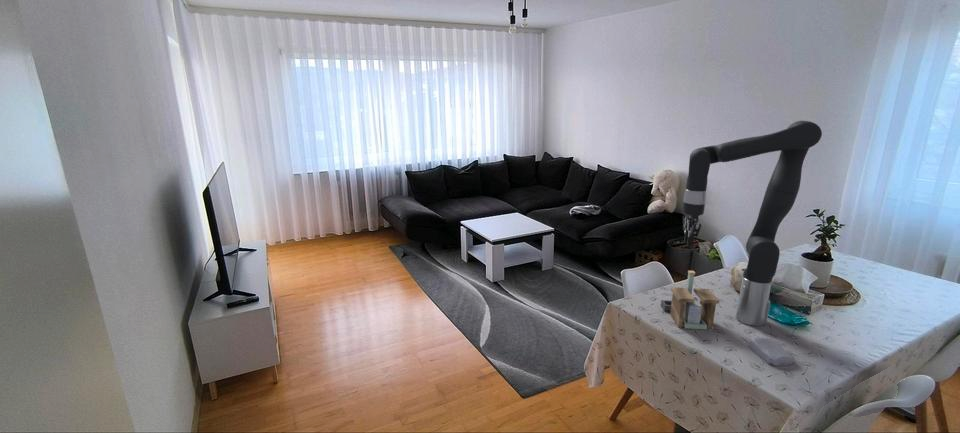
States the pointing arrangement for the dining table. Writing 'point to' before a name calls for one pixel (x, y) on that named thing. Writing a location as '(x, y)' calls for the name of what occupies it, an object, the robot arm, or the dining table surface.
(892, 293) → the dining table surface
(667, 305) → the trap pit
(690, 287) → the slider
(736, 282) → the coin bank
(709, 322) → the tunnel
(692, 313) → the medicine box
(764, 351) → the stone block
